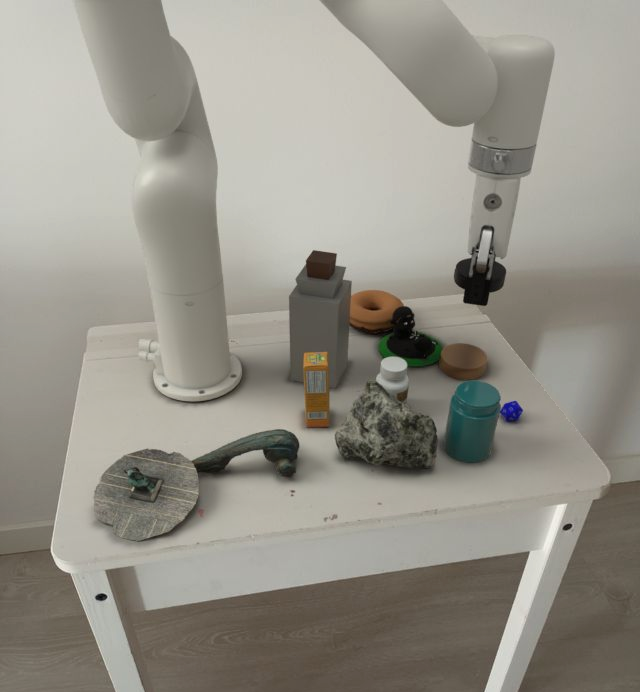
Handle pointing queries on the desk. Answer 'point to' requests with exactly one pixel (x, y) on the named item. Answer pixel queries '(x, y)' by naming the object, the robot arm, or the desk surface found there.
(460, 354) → the brown round disc
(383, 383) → the pill bottle
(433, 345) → the toy figurine
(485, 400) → the jar
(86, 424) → the desk surface
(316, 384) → the supplement box
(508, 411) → the die
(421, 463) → the rock
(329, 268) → the perfume bottle
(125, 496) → the sculpture
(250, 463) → the desk surface
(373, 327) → the donut
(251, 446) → the decorative handle
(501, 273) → the lid
